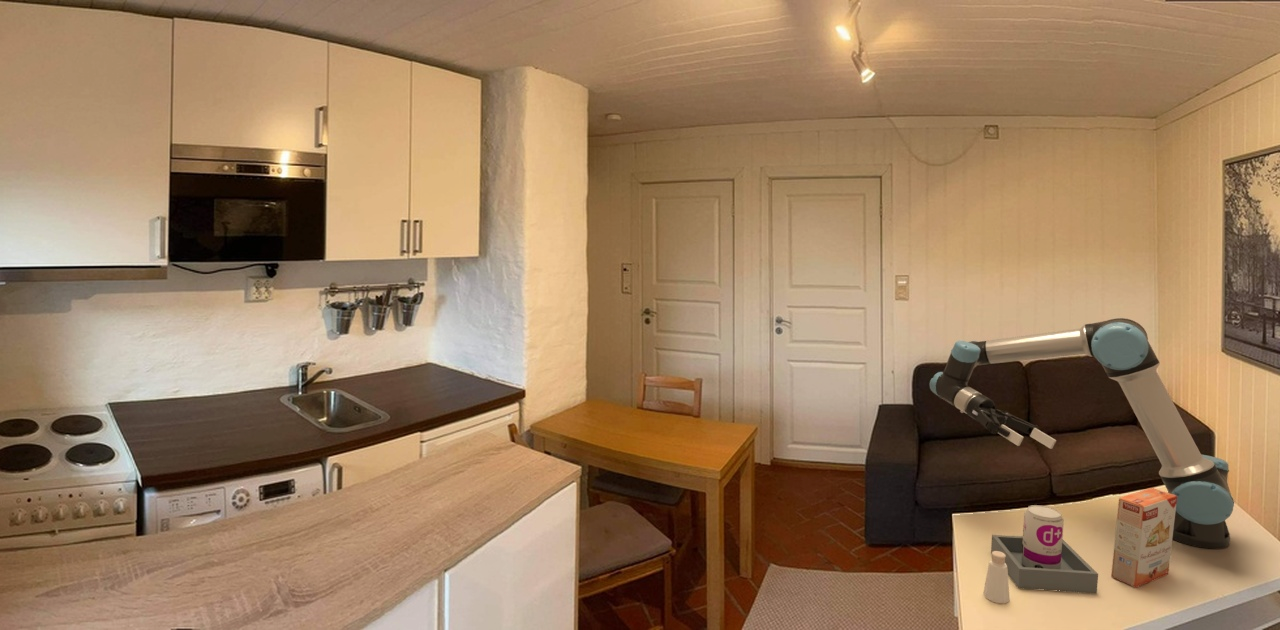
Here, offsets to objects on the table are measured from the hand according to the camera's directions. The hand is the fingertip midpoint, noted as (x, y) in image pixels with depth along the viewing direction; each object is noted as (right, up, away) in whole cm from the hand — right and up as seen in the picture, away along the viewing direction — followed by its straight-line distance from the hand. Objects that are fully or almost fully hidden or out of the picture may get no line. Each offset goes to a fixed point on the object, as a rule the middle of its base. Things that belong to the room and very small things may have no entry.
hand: (1037, 443), depth 167 cm
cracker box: (+16, -30, -15) cm, 37 cm away
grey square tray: (-7, -30, -12) cm, 33 cm away
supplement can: (-7, -29, -12) cm, 32 cm away
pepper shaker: (-24, -32, -22) cm, 46 cm away
